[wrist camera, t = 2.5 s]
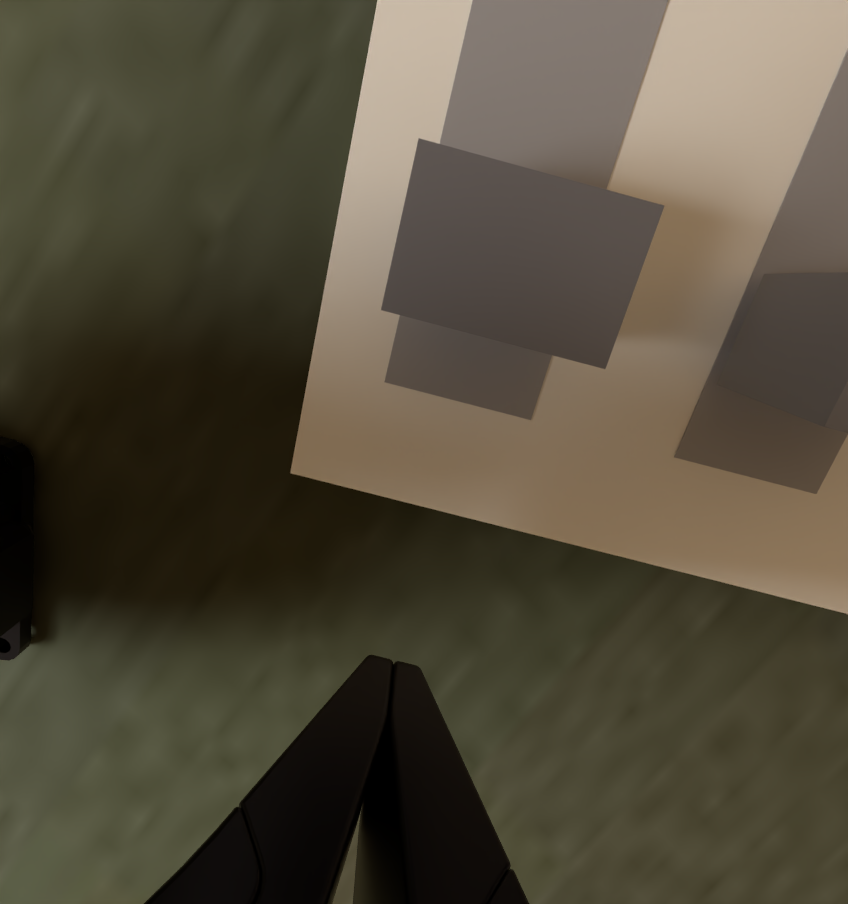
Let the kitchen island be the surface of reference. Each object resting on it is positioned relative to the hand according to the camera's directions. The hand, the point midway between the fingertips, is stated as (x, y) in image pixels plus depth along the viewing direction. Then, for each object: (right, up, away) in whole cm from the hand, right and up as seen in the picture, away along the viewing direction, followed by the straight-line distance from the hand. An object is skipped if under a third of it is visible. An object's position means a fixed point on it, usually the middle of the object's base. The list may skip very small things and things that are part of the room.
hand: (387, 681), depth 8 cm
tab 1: (+2, +7, +1) cm, 7 cm away
